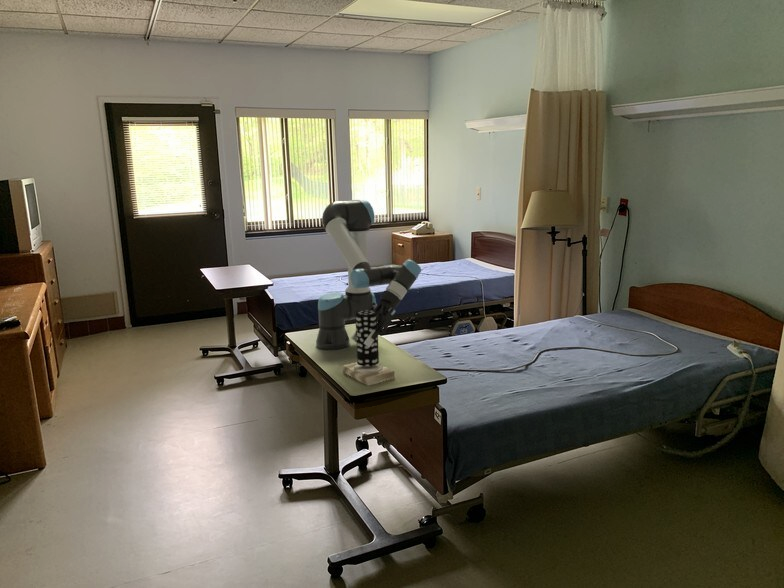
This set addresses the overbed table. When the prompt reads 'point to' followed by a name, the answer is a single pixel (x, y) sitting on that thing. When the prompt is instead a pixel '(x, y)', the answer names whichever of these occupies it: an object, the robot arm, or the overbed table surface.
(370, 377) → the plinth
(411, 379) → the overbed table surface
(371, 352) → the spotted tube
